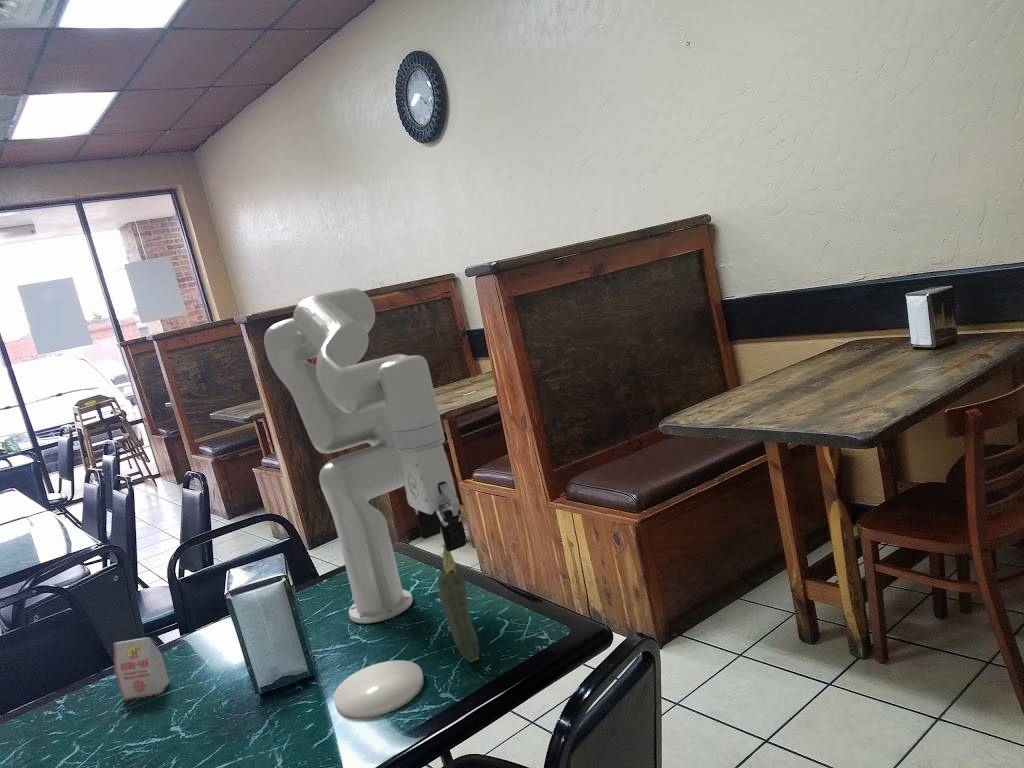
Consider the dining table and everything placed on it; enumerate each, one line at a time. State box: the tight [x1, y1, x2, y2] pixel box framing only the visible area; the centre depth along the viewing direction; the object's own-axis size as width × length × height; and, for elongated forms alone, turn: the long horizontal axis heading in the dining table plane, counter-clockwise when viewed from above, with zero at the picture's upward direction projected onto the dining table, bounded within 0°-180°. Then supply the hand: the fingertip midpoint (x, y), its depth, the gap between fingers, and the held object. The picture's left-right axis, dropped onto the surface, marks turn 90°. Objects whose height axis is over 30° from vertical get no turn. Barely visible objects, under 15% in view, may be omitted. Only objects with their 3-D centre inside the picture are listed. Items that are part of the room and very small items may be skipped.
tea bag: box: [112, 636, 171, 701], centre depth 138 cm, size 4×7×10 cm, turn 87°
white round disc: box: [333, 659, 425, 719], centre depth 123 cm, size 14×14×1 cm
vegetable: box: [437, 544, 480, 663], centre depth 124 cm, size 4×4×20 cm
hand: (443, 541), depth 122 cm, fingers open, 9 cm apart
